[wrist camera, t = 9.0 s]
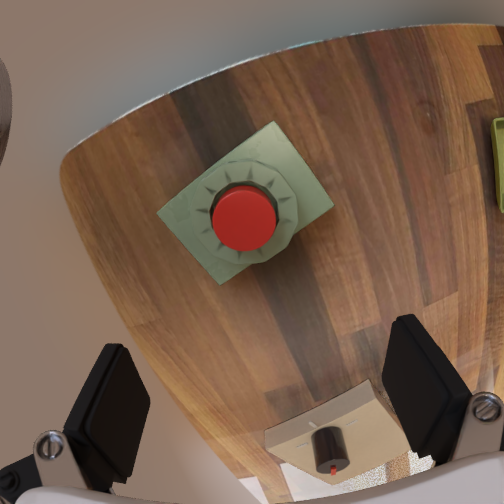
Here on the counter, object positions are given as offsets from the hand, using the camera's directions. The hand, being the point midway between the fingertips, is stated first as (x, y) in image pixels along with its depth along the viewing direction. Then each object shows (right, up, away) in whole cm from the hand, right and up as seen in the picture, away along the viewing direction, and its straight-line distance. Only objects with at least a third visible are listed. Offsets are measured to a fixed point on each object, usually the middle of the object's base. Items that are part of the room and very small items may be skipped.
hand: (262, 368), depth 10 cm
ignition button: (-1, +6, +9) cm, 11 cm away
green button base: (-1, +8, +12) cm, 15 cm away
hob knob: (+8, -16, +19) cm, 26 cm away
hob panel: (+12, -20, +24) cm, 34 cm away
